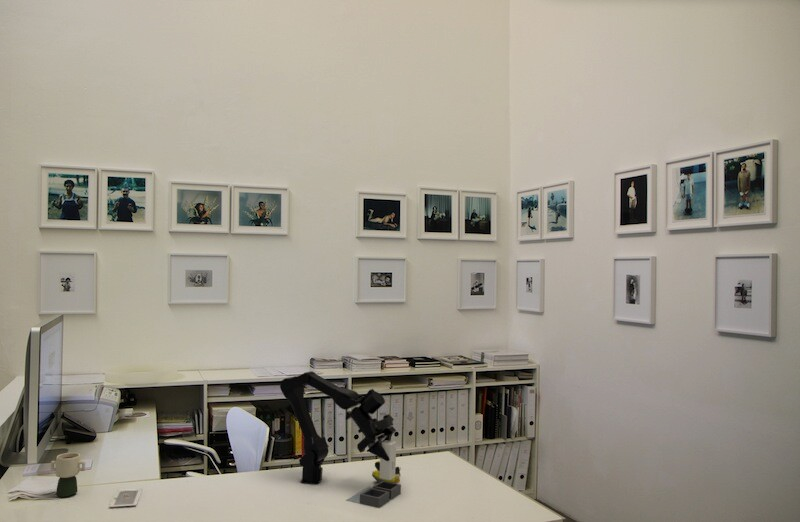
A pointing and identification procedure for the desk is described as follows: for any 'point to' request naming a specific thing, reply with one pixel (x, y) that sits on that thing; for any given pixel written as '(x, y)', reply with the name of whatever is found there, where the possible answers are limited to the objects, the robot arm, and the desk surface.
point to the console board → (377, 494)
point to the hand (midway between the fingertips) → (391, 458)
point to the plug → (388, 466)
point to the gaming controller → (393, 480)
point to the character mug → (67, 473)
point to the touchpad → (126, 497)
